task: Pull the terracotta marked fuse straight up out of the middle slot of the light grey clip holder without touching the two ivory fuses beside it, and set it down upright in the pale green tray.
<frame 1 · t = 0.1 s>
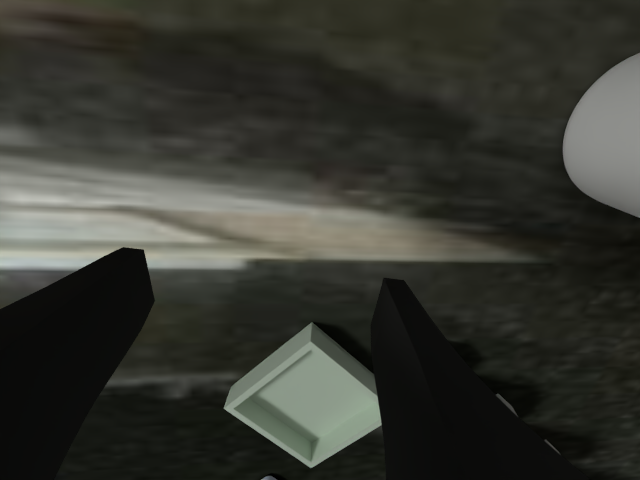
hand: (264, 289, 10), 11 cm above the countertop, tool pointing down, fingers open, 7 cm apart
tray: (312, 389, 26), on the countertop
pill bottle: (631, 129, 18), on the countertop
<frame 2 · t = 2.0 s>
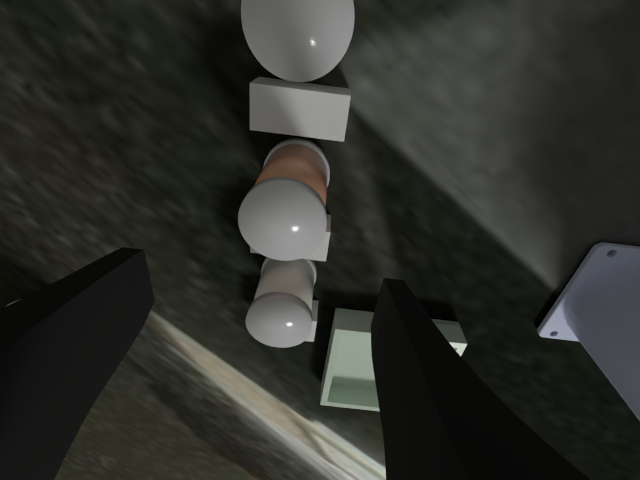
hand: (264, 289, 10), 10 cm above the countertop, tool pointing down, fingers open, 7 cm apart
tray: (383, 355, 27), on the countertop
clip holder: (297, 170, 19), on the countertop
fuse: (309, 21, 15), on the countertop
marked fuse: (297, 170, 19), on the countertop
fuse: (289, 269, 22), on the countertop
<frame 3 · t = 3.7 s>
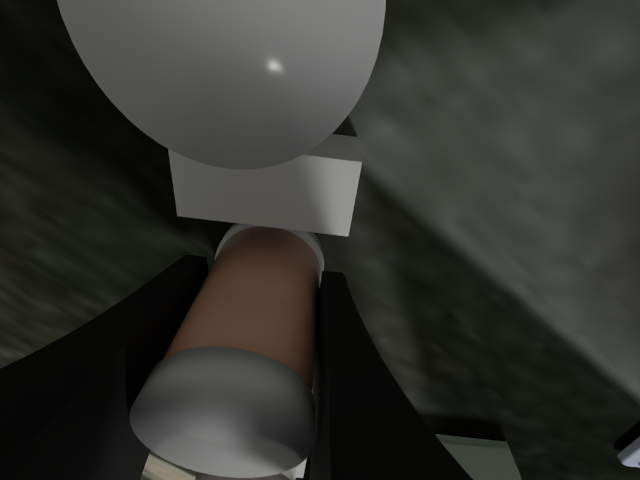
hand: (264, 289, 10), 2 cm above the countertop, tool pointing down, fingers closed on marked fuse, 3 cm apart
tray: (399, 472, 20), on the countertop
clip holder: (272, 258, 12), on the countertop
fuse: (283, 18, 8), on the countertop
marked fuse: (272, 258, 12), on the countertop, touching gripper
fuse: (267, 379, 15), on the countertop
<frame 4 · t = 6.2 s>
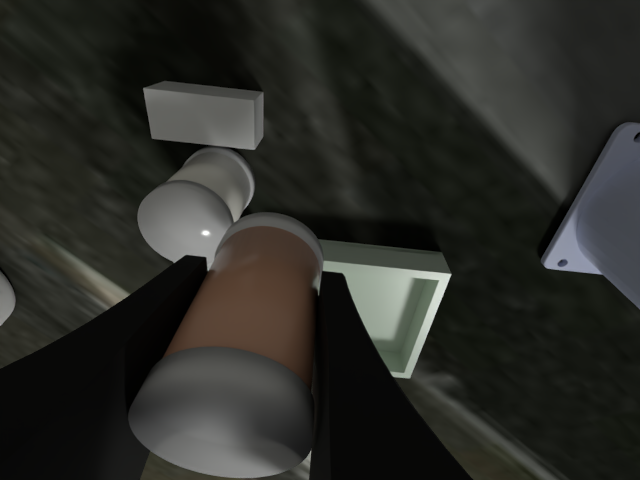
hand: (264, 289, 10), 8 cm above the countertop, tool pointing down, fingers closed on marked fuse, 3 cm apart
tray: (352, 301, 22), on the countertop
clip holder: (209, 19, 14), on the countertop
marked fuse: (272, 257, 12), point 7 cm above the countertop, touching gripper
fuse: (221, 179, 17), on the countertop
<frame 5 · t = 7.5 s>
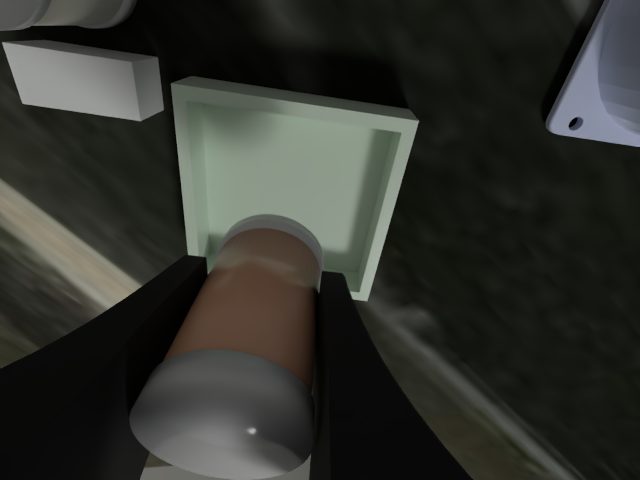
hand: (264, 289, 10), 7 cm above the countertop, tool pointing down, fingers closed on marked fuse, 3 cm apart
tray: (292, 192, 16), on the countertop
marked fuse: (272, 259, 12), point 5 cm above the countertop, touching gripper
when the fingers open (3 cm above the countertop, at t = 8.6 s): marked fuse drops 1 cm, resting on tray.
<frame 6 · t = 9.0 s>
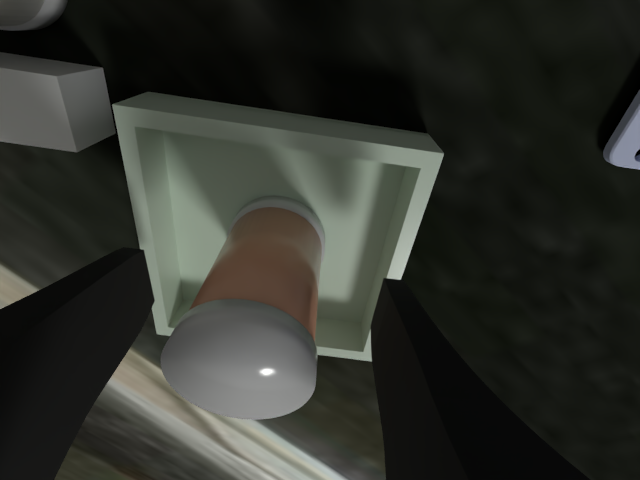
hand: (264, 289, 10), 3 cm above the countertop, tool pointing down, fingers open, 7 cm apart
tray: (280, 231, 13), on the countertop
marked fuse: (278, 238, 13), resting on tray
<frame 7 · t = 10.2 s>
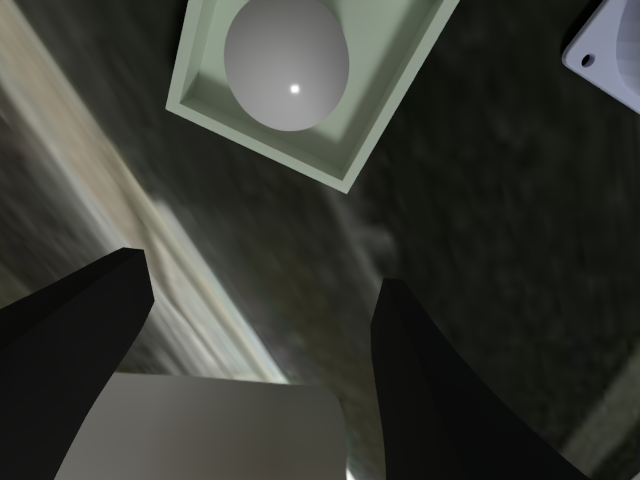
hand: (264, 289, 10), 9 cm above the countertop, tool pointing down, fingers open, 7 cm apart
tray: (304, 51, 15), on the countertop
marked fuse: (303, 53, 15), resting on tray
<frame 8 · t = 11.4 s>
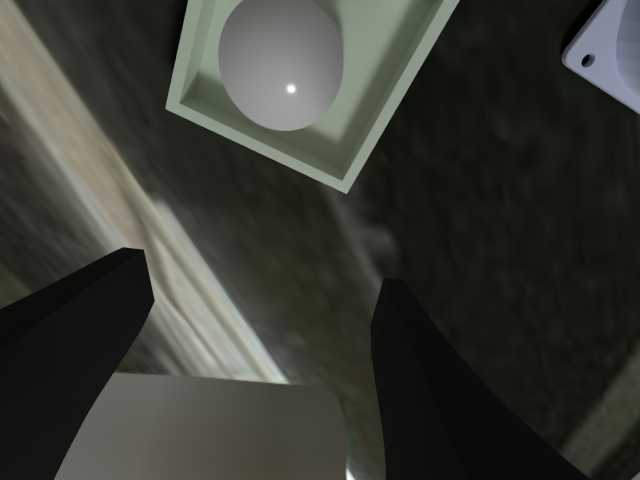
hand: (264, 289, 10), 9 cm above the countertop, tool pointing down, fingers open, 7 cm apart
tray: (304, 51, 15), on the countertop
marked fuse: (303, 53, 15), resting on tray
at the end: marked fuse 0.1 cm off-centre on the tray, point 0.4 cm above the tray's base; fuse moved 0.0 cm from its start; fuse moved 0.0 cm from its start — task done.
